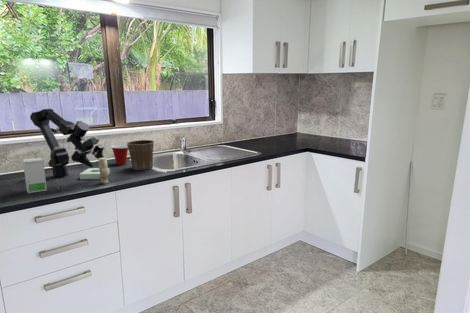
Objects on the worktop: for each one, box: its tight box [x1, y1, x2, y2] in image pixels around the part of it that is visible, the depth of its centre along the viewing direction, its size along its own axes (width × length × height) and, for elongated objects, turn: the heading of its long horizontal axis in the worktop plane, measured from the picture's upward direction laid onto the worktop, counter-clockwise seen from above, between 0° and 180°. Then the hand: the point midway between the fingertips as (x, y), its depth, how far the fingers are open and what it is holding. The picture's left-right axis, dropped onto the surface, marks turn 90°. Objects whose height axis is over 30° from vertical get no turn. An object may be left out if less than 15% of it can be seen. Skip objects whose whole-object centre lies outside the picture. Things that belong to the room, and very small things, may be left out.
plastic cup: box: [111, 144, 129, 166], centre depth 210 cm, size 11×11×12 cm
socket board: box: [79, 167, 111, 180], centre depth 184 cm, size 12×12×3 cm
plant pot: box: [126, 139, 155, 171], centre depth 200 cm, size 16×16×16 cm
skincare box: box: [22, 157, 48, 194], centre depth 159 cm, size 8×7×16 cm
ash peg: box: [98, 157, 109, 185], centre depth 170 cm, size 4×4×13 cm
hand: (98, 164), depth 170 cm, fingers open, 9 cm apart
